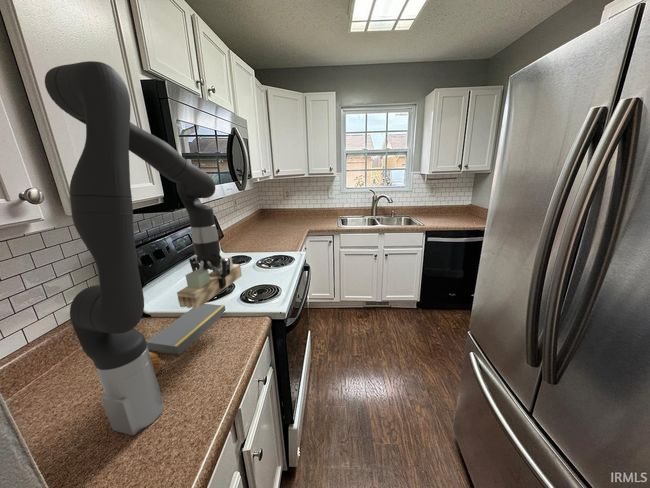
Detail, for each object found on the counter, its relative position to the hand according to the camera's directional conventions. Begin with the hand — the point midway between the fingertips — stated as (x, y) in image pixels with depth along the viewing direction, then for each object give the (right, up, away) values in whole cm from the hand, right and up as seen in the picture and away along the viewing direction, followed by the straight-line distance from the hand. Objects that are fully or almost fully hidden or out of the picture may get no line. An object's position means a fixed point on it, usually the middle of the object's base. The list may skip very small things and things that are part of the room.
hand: (214, 286), depth 87 cm
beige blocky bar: (0, -1, 0) cm, 1 cm away
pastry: (-15, -23, -11) cm, 29 cm away
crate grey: (+1, +5, +5) cm, 7 cm away
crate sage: (-2, +2, -7) cm, 7 cm away
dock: (-11, -17, +7) cm, 21 cm away
